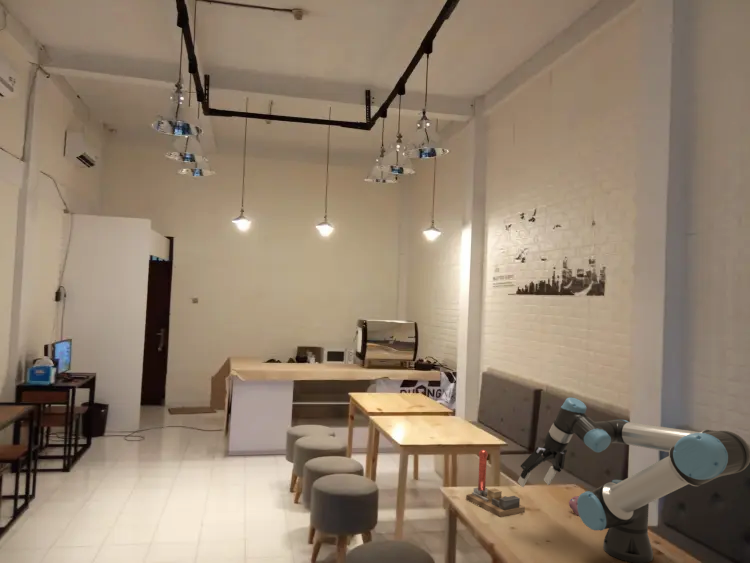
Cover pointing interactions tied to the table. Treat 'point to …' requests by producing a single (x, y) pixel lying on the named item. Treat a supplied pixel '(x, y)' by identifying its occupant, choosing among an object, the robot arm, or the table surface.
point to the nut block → (493, 494)
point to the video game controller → (574, 504)
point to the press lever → (482, 474)
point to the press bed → (498, 504)
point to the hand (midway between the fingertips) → (533, 483)
